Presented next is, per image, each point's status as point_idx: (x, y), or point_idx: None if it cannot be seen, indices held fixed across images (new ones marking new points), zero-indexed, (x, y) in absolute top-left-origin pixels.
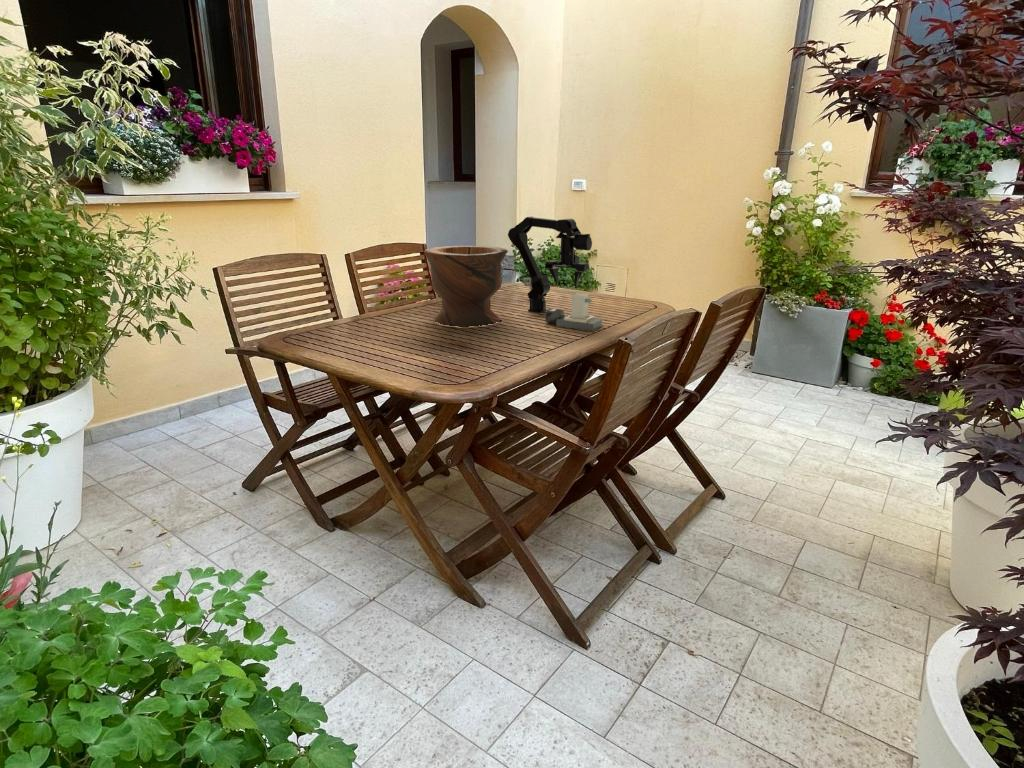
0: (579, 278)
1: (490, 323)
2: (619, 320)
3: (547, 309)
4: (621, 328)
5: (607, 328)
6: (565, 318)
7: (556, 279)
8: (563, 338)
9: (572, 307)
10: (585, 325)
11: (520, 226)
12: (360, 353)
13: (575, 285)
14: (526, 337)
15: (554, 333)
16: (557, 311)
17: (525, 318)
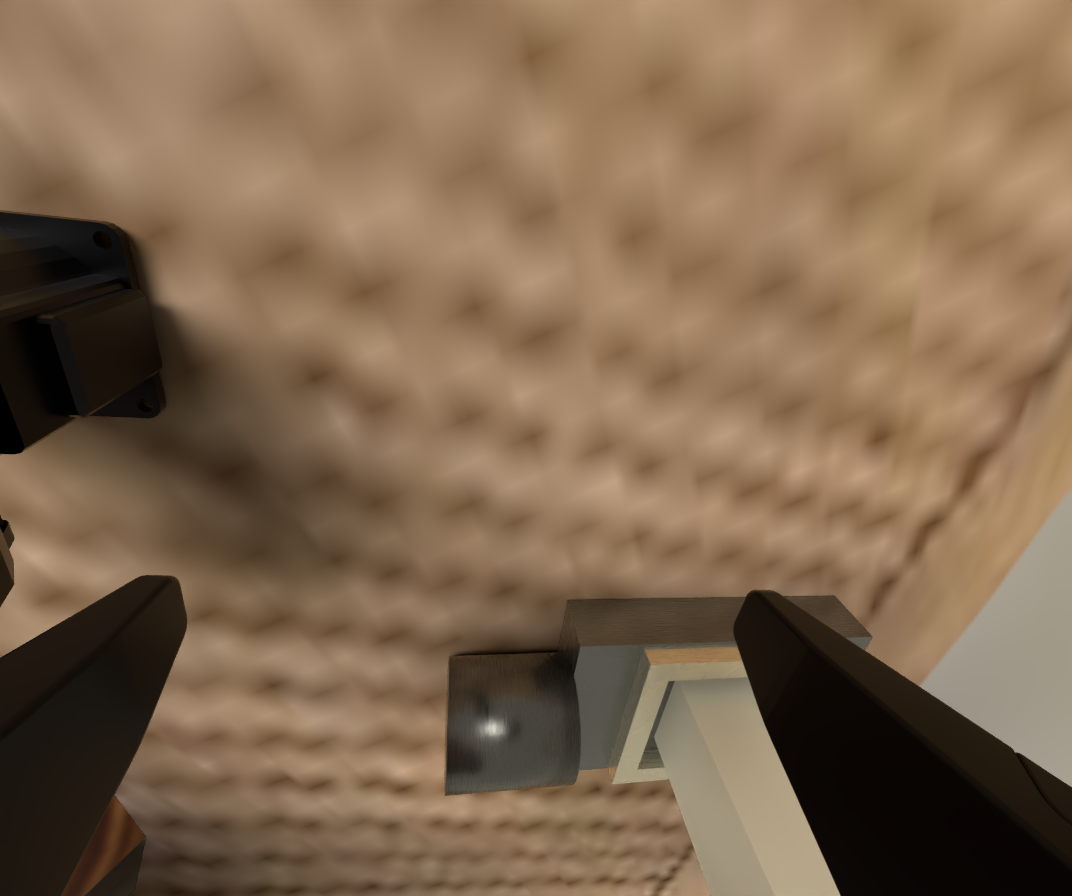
0: (1013, 779)
1: (122, 871)
2: (997, 388)
3: (446, 795)
4: (953, 592)
5: (865, 626)
6: (622, 780)
7: (79, 807)
8: (642, 838)
9: (697, 843)
10: None
11: None
12: None
13: (753, 658)
14: (472, 891)
15: (577, 808)
16: (546, 786)
17: (202, 649)
